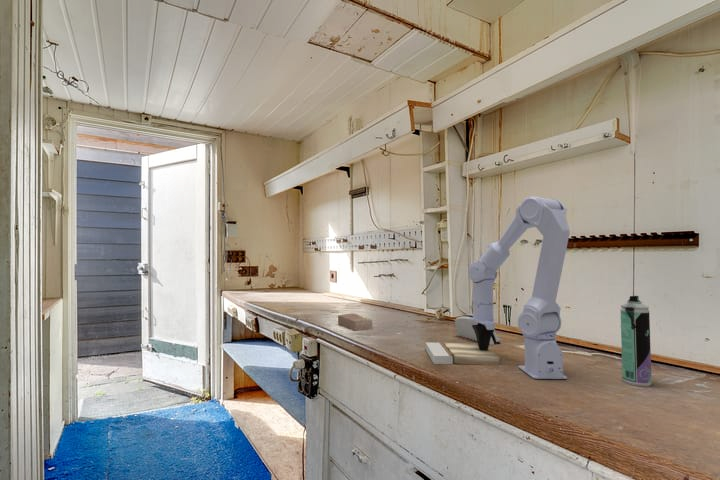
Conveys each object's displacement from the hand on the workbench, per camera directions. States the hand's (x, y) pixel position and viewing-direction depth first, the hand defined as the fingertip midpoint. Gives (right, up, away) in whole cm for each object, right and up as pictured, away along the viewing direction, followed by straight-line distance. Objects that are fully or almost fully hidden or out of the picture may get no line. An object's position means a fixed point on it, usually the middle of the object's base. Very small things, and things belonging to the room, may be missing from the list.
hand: (483, 350), depth 111 cm
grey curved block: (+5, -3, +22) cm, 23 cm away
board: (-13, -2, 0) cm, 13 cm away
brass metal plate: (-4, -2, 0) cm, 5 cm away
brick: (-38, -4, +47) cm, 61 cm away
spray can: (+28, -1, -23) cm, 36 cm away
